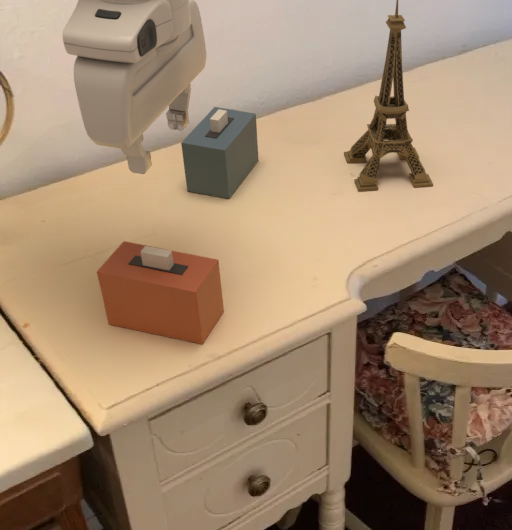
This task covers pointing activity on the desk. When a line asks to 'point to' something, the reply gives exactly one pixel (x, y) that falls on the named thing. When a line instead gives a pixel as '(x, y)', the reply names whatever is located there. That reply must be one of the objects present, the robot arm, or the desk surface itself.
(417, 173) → the eiffel tower
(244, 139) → the slate tissue box
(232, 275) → the desk surface
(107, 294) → the terracotta tissue box
